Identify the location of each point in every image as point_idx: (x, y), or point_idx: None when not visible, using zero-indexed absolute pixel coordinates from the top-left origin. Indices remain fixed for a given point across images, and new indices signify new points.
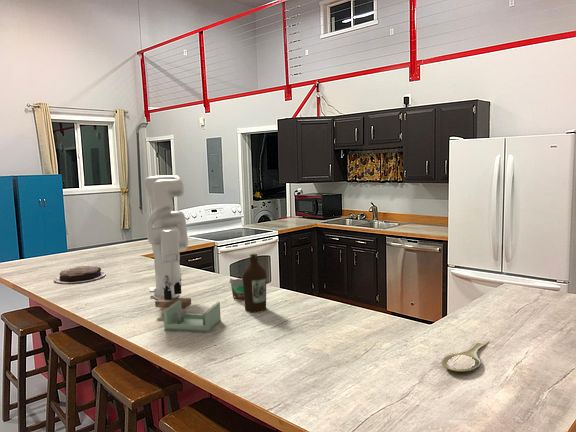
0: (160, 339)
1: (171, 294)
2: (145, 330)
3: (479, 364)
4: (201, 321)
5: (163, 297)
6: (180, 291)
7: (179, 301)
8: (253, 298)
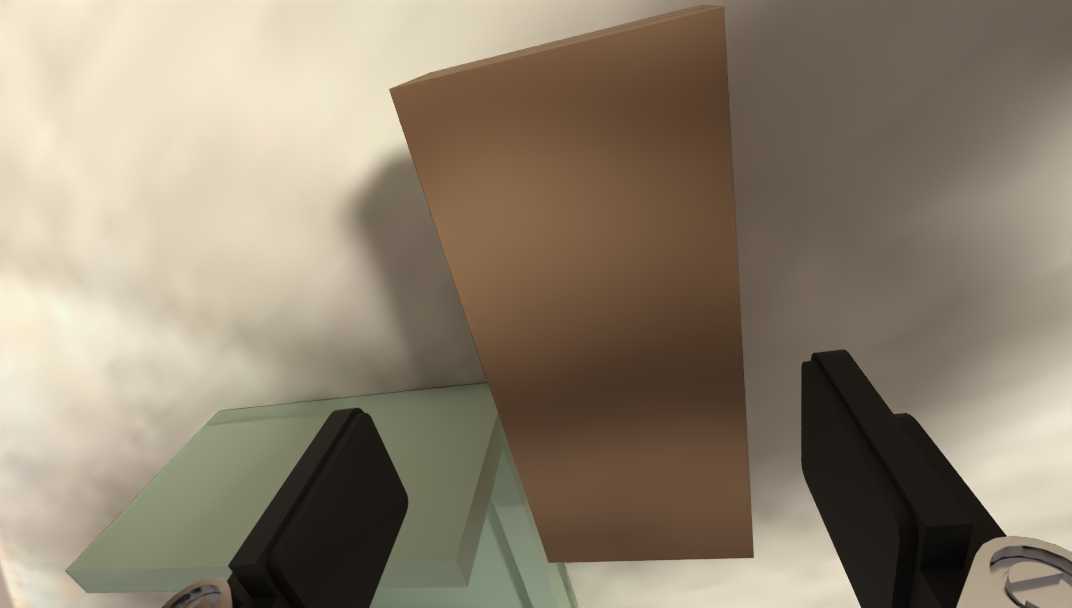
0: (103, 463)
1: (368, 588)
2: (105, 261)
3: None
4: (471, 586)
5: (718, 79)
6: (821, 513)
7: (424, 585)
8: None
